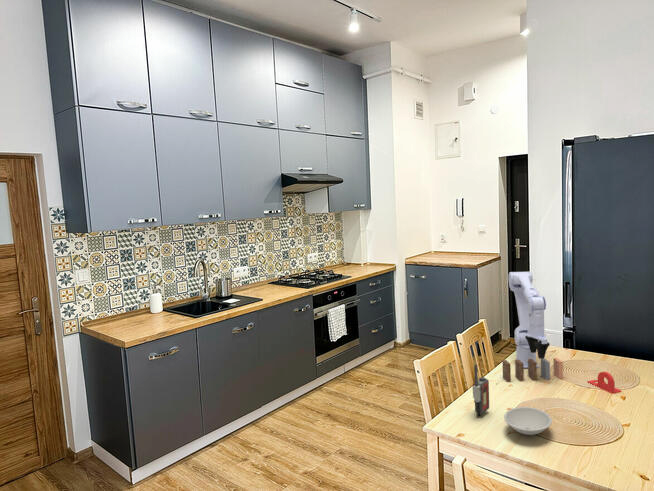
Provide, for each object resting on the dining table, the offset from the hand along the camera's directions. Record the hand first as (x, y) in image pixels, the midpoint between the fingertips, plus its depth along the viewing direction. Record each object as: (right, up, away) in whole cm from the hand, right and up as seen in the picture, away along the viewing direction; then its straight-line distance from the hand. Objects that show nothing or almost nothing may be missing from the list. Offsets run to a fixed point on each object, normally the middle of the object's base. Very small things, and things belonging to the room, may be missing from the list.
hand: (537, 355), depth 191 cm
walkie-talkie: (-35, -15, -28) cm, 47 cm away
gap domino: (+4, -10, +1) cm, 11 cm away
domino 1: (-7, -11, +1) cm, 13 cm away
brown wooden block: (-13, -11, +1) cm, 17 cm away
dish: (-23, -16, -42) cm, 50 cm away
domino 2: (-2, -11, +1) cm, 11 cm away
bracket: (+21, -11, -12) cm, 27 cm away
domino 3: (+9, -10, +1) cm, 14 cm away
